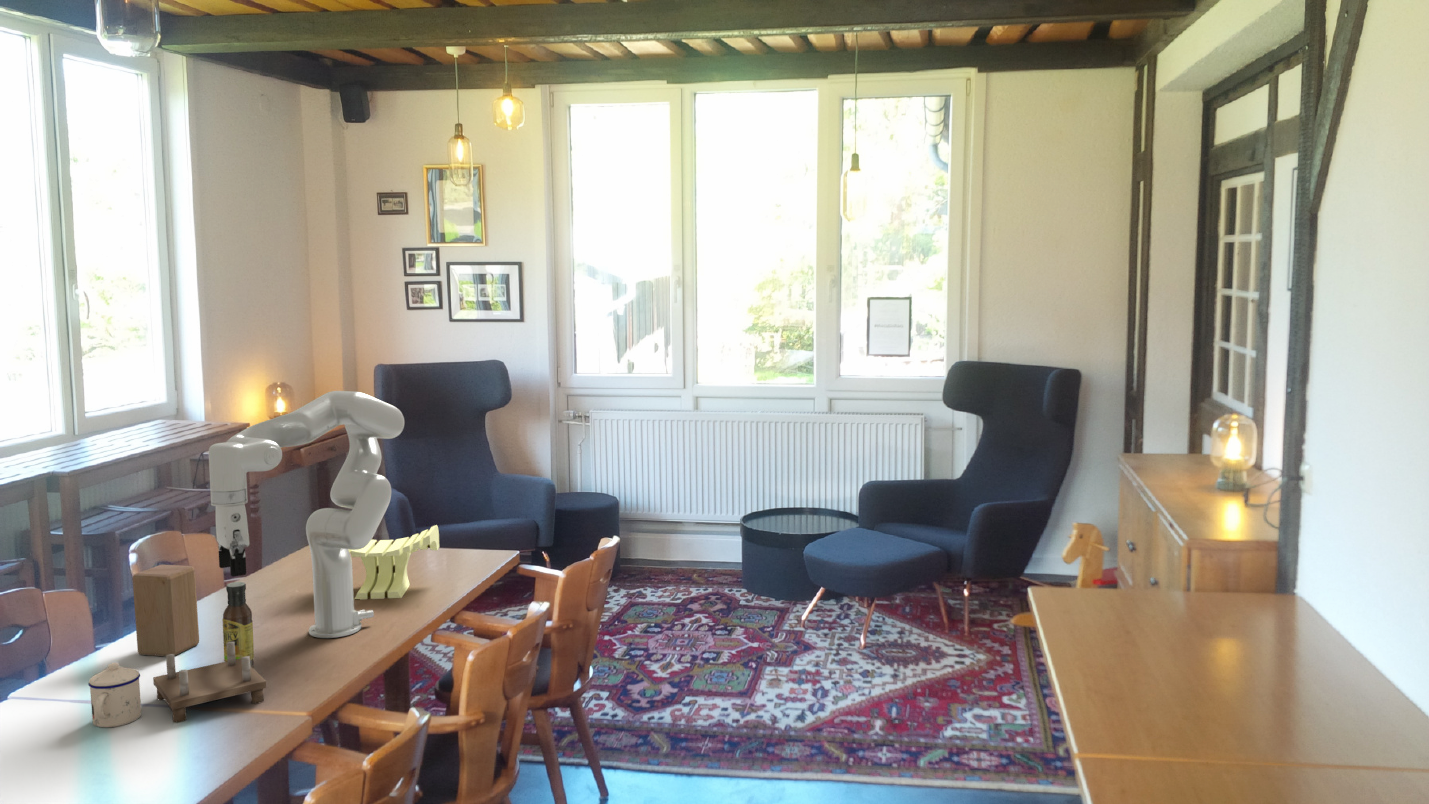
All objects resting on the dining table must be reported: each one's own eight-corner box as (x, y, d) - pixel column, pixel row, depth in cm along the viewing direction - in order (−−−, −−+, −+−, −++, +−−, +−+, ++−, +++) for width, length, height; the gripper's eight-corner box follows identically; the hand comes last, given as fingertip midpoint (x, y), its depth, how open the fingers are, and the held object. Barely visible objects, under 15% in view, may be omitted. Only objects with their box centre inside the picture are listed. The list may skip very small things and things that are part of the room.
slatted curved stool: (440, 580, 309) (438, 522, 307) (432, 596, 294) (429, 534, 292) (336, 584, 306) (333, 525, 304) (322, 600, 290) (319, 538, 288)
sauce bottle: (219, 669, 238) (213, 584, 236) (243, 660, 243) (238, 578, 241) (236, 674, 235) (230, 588, 233) (260, 665, 240) (255, 582, 238)
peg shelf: (243, 677, 233) (241, 636, 232) (267, 701, 219) (264, 658, 218) (154, 697, 222) (151, 654, 221) (173, 724, 208) (170, 678, 207)
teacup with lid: (104, 711, 215) (100, 657, 214) (150, 709, 216) (146, 655, 214) (75, 736, 203) (70, 678, 202) (124, 733, 204) (119, 676, 203)
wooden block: (172, 658, 246) (167, 576, 243) (136, 655, 248) (130, 574, 245) (201, 644, 255) (196, 565, 253) (166, 641, 257) (160, 563, 255)
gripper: (257, 500, 230) (260, 576, 232) (236, 490, 244) (239, 561, 245) (221, 504, 226) (224, 581, 227) (201, 493, 239) (205, 566, 241)
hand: (232, 571), depth 236 cm, fingers open, 9 cm apart
